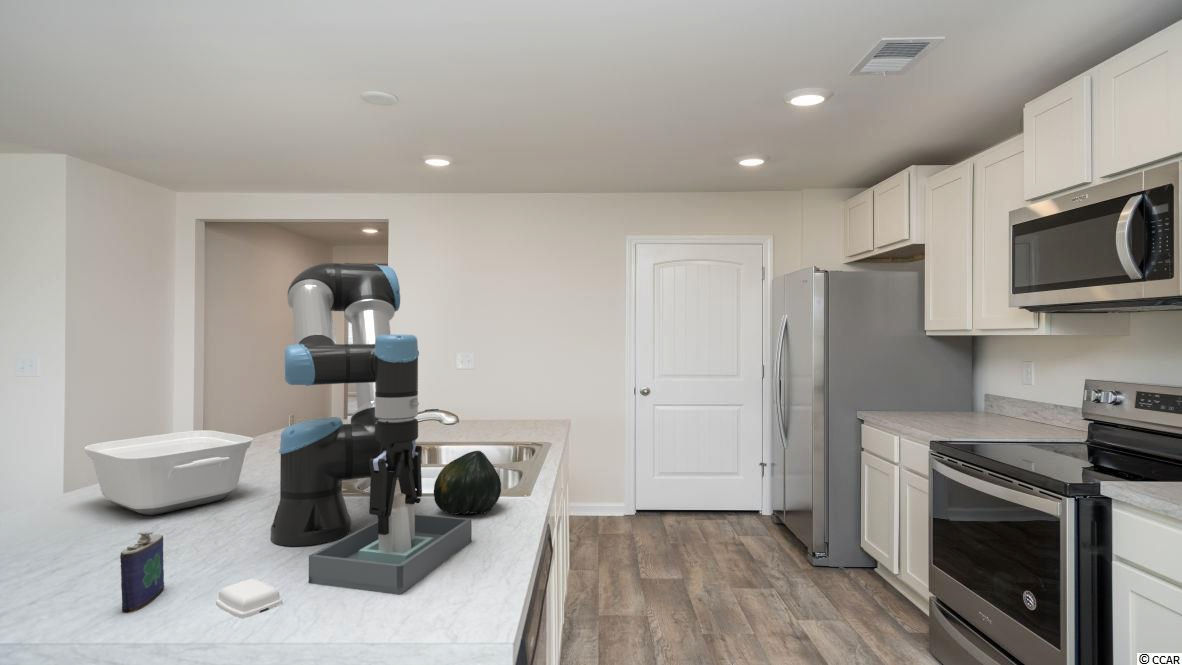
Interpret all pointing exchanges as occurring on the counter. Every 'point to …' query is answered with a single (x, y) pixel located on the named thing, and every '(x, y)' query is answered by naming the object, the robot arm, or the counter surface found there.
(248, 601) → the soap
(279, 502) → the robot arm
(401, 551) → the salt shaker
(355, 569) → the bin
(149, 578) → the flask
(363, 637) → the counter surface
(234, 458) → the white plastic tub
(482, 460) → the squash
